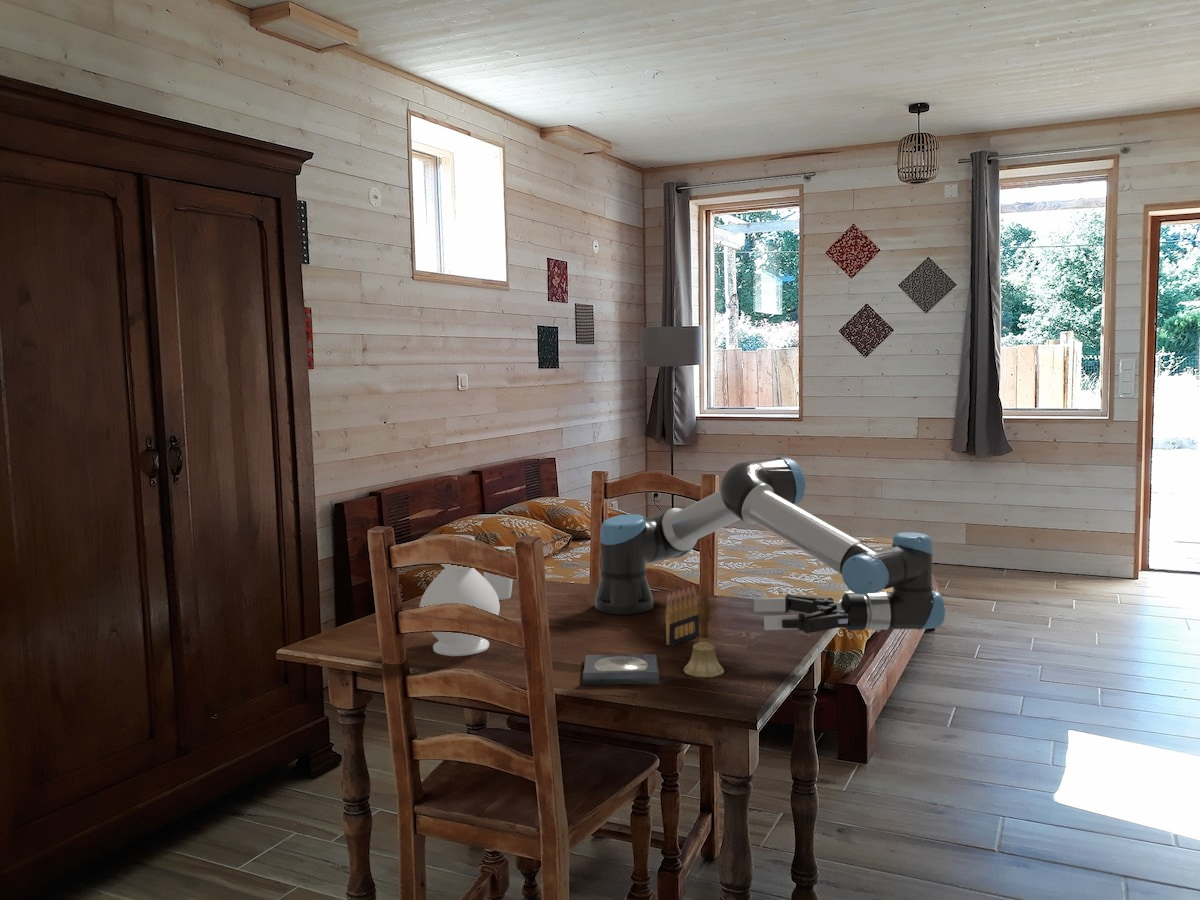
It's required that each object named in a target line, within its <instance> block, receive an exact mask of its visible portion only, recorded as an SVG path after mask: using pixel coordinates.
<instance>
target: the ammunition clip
mask: <svg viewBox="0 0 1200 900" xmlns="http://www.w3.org/2000/svg"><path fill="white" fill-rule="evenodd" d="M665 607H666V608H665V609H666V610H665V622H664V631H663V633H664V635H663V636H664V639H663V640H664V641H663V645H664V646H667V645H668V647H673V646H672V645H674V646H676V645H679V644H681V643H680V642H682V643H684V642H687V641H690V640H692V639H691V638H693V639H694V637H695V638H697V637H696V636H698V637H700V621H699V617H698V602H697V591H696V587H695V585H693V584H692V587H690V586H687V589H685V588H684V587H683V589H682V591H681V590H680V589H678V590H677V593H676V591H675V590H674V591H672V595H671V593H670V592H668V593H667V596H666V606H665ZM689 639H690V640H689ZM686 640H687V641H686ZM683 641H684V642H683ZM678 643H679V644H678ZM675 644H676V645H675Z"/></svg>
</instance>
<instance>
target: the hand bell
mask: <svg viewBox="0 0 1200 900" xmlns="http://www.w3.org/2000/svg"><path fill="white" fill-rule="evenodd" d="M697 614H698V617H699V642H695V643H694V644H693V645H692V651H691V656H690V659H689V661H688V663H687V664H686V665H685V666H684V668H683V673H684V674H686V675H689V676H690V677H695V678H703V679H704V678H707V677H708V678H715V677H716V676H717V677H719V675H720V676H721V675H723V674H724V673H725V669H724V667H723V666H722V665H721V664H720V663H719V660H718V658H717V654H716V647H715V645H714V644H713V643H711V642H710V641H709V622H710V620H711V619H710V618H711V603H710V601H709V596H708V595H707V594H701V596H700V598H699V602H698V604H697ZM708 678H707V679H708Z"/></svg>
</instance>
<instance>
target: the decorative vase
mask: <svg viewBox="0 0 1200 900" xmlns="http://www.w3.org/2000/svg"><path fill="white" fill-rule="evenodd" d="M454 535H455V536H461V537H465V538H469V539H472V540H474V541H475V536H473V535H469V534H454ZM440 565H441V567H443V569H442V571H440V573H439V574H438V575H437V576H436V577H434V578H433V580H432V581H431V583H430V584H429V585H428V586H427V588H426V589H425V591H424V593H423V594H422V597H421V600H420V603H419V608H420V607H424V606H428V605H433V604H443V603H459V604H466V605H470V606H474V607H476V608H479V609H482V610H485V611H488V612H490V613H493V614H496V615H498V616H499V615H500V609H501V607H500V600H499V599H498V596H497V594H496V592H495V590H494V589H493V587H492V586H491V585H490V583H489V582H488V581H487V580H486V579H485V578H484V575H482V574H481V573H480V572H479V571H477V569H475V568H474V567H473V568H469V567H463V566H457V565H451V564H440ZM430 633H431V634H432V635H433V636H434V637H435V638H436V639H437V641H436V642H435V643H434V644H433V645H432V649H433V652H434V653H436V654H438V655H442V656H449V657H462V656H470V655H471V656H472V655H474V654H479V653H481V652H485V651H486V650H488V649H489V647H490V641H489V640H487V639H485V638H484V637H483V638H482V637H478V636H474V635H468V634H462V633H452V632H430Z"/></svg>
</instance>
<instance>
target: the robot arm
mask: <svg viewBox="0 0 1200 900" xmlns="http://www.w3.org/2000/svg"><path fill="white" fill-rule="evenodd" d="M806 484H807V483H806V477H805V474H804V471H803V469H802V468H801V465H799V464H798V463H797V461H795V460H793V459H792V458H789V457H779V456H777V457H775V458H769V459H760V460H753V461H744V462H740V463H737V464H734V465H733V466H732V467H730V468H729V469H728V470H727V471H726V472H725V473H724V475H723V477H722V479H721V482H720V487H719V488H720V489H719V490H717V491H716V492H714V493H711V494H710V495H707V496H706V497H704V498H702V499H700V500H698V501H697V502H694V503H692V504H691V505H689V506H686V507H685V508H680V507H673V508H669V509H667V510H666V511H664V512H661V513H660V514H658V515H655V516H650V517H644V516H643V515H641V514H634V513H633V514H632V513H629V514H625V515H624V514H620V515H616V516H615V515H614V516H612V517H609V518H607V519H605V520H604V521H603V522H602V523H601V526H600V534H599V542H600V580H599V585H598V588H597V591H596V594H595V597H594V598H595V599H594V608H595V610H597V611H598V612H602V613H604V614H613V615H635V613H636V614H641V613H645V612H648V611H650V610H652V609H653V608H654V597H653V594H652V591H651V588H650V585H649V582H648V579H647V564H649V563H654V562H660V561H664V560H668V559H669V560H671V559H678V558H681V557H683V556H686V555H687V554H689V553H690V552H691V551H692V550H693V548H694V547H695V545H696V544H697V542H698V540H700V539H702V538H703V537H706V536H708V535H710V534H712V533H715V532H717V531H718V530H721V529H723V528H725V527H727V526H729V525H731V524H733V523H736V522H737V521H740V520H742V522H745V523H746V524H748V525H759V526H760V527H762V528H763V529H765V530H767V531H768V532H770V533H772V534H774V535H775V536H777V537H779V538H781V539H782V540H784V541H786V542H787V543H789V544H790V545H792V546H793V547H795V548H797V549H799V550H800V551H802V552H803V553H805V554H807V555H808V556H810V557H812V558H814V559H815V560H817V561H819V562H821V563H822V564H823V565H825V566H827V567H829V568H831V569H832V570H834V571H836V572H837V573H838V574H840V575H841V577H842V581H843V584H845V585H846V587H847V589H848V590H850V592H845V593H844V594H843V595H842V596H841V601H840V602H835V601H834V598H833V597H820V596H819V597H817V596H807V595H795V594H786V595H785V597H758V598H755V597H754V598H753V612H756V613H759V612H760V613H762V612H784V613H785V614H777V615H776V614H775V615H772V614H771V615H769V614H768V615H763V625H764V627H763V628H764V629H763V630H764V631H781V630H785V631H786V630H787V631H788V630H790V631H791V630H793V631H794V630H795V631H796V630H799V631H804V632H803V633H805V634H811V633H816V632H821V631H828V630H833V629H838V628H839V629H840V628H844V629H845V630H846V631H848V632H849V631H864V630H865V629H866V630H869V631H875V632H876V633H881V630H918V631H921V630H929V629H930V630H931V629H938V628H940V627H941V626H942V625H943V624H944V621H945V617H946V608H945V602H944V598H943V596H942V594H941V593H940V592H939V591H936V590H935V591H934V590H933V588H932V586H933V585H932V584H933V583H932V582H933V557H934V555H933V545H932V539H931V537H930V536H929V535H928V534H925V533H922V532H912V531H911V532H910V531H907V532H906V531H905V532H904V531H903V532H898V533H895V534H894V536H893V537H892V543H891V547H888V548H883V549H878V550H876V549H874V548H872V547H870V546H868V545H867V544H864V543H862V542H861V541H859V540H857V539H856V538H854V537H852V536H850V535H849V534H847V533H845V532H843V531H841V530H840V529H838V528H837V527H834V526H833V525H831V524H829V523H827V522H826V521H824V520H822V519H821V518H818V517H817V516H815V515H814V514H812V513H810V512H808V511H806V510H804V509H803V508H801V507H799V506H797V505H798V504H800V502H802V500H803V498H804V496H805V491H806V487H807V486H806ZM888 589H892V591H890V592H888V591H887V592H886V591H884V590H888ZM790 611H793V612H799V613H798V614H787V613H789V612H790ZM804 613H805V614H804Z"/></svg>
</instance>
